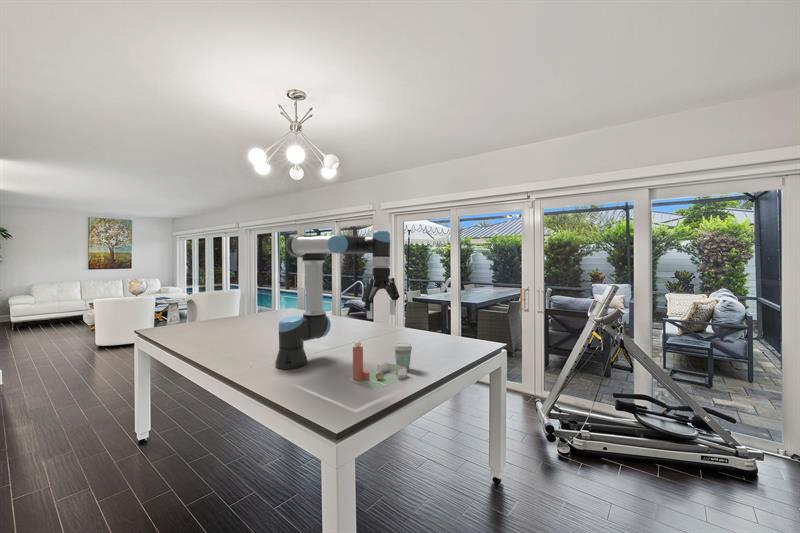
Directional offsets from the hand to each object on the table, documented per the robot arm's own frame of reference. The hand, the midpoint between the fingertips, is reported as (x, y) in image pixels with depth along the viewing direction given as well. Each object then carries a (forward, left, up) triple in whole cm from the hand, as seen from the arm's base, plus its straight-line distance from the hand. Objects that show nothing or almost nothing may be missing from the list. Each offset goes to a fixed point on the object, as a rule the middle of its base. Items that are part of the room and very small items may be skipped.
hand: (381, 316), depth 150 cm
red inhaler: (-6, -8, -27) cm, 28 cm away
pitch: (-1, -4, -28) cm, 28 cm away
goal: (+1, +6, -28) cm, 28 cm away
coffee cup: (-2, +17, -28) cm, 33 cm away
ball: (+1, -2, -25) cm, 25 cm away
